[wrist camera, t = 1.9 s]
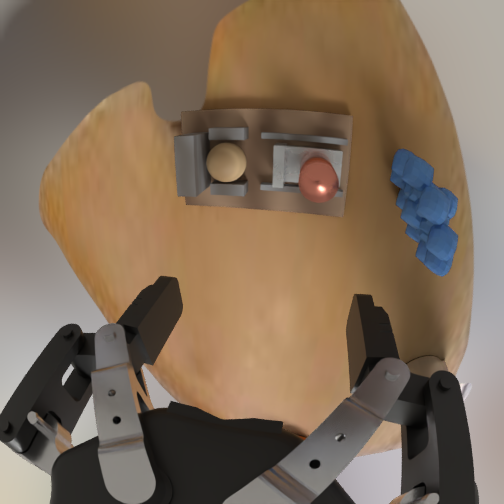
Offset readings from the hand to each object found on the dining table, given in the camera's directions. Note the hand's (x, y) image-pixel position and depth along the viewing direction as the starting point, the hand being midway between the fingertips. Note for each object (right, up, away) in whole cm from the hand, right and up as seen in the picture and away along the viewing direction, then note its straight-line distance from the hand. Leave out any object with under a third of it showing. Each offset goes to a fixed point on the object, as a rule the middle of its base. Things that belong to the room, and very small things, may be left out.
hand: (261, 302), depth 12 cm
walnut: (-3, +12, +16) cm, 20 cm away
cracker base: (+1, +12, +17) cm, 21 cm away
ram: (+5, +11, +14) cm, 19 cm away
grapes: (+18, +9, +15) cm, 25 cm away
